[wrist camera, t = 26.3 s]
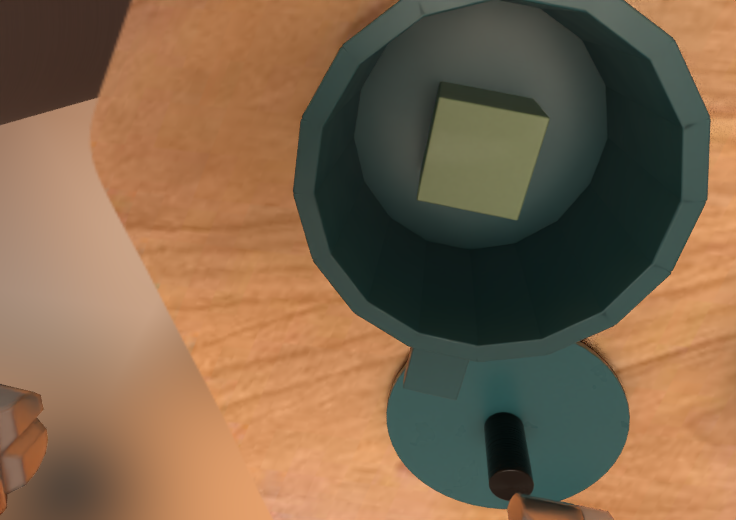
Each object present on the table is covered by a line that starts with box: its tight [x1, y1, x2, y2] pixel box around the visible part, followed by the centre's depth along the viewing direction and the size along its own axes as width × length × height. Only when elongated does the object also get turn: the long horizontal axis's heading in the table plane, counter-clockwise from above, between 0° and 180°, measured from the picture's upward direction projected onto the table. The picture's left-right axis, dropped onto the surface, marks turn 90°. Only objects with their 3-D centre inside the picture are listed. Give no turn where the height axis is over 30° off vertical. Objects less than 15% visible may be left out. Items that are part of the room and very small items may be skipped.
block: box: [417, 82, 550, 220], centre depth 24 cm, size 4×4×4 cm
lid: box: [387, 341, 630, 509], centre depth 32 cm, size 15×15×6 cm
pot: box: [293, 0, 710, 400], centre depth 22 cm, size 14×19×10 cm
